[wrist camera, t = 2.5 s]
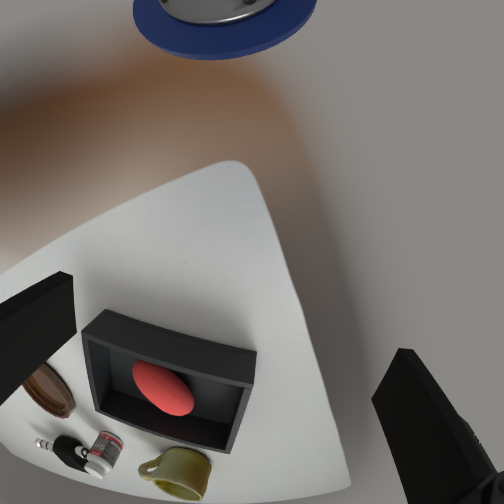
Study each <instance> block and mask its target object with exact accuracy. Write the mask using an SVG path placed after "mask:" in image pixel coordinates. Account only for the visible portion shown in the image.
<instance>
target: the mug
mask: <svg viewBox="0 0 504 504" xmlns="http://www.w3.org/2000/svg"><path fill="white" fill-rule="evenodd" d="M156 466H158V467H157V468H156V469H155V470H153V471H151V472H148V471H146V470H147V469H149V468H153V467H156ZM138 472H139V475H140V477H141V478H143V479H144V480H148V481H151V480H152V481H153V483H154V484H155V486H156V487H158V488H159V489H160V490H161V491H163V492H165V493H167V494H169V495H171V496H173V497H176V498H179V499H182V500H185V501H195V502H196V501H201V500H202V499H203V496H204V494H205V492H206V488H207V484H208V478H209V475H210V472H211V464H210V462H209V461H208V460H207V459H206V458H204V457H203V456H202V455H201V454H199V453H198V452H196V451H194V450H189V449H183V448H177V447H176V448H172V449H169V450H168V451H167V452H165V453H164V454H162V455H160V456H159V457H158V458H156V459H155V460H151V461H148V462H146V463H143V464H142V465H140V466H139V468H138Z"/></svg>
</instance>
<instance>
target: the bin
mask: <svg viewBox="0 0 504 504" xmlns="http://www.w3.org/2000/svg"><path fill="white" fill-rule="evenodd" d="M81 334H82V343H83V350H84V357H85V363H86V369H87V374H88V380H89V385H90V389H91V394H92V398H93V403H94V407H95V411H97V412H99V413H101V414H103V415H105V416H108V417H110V418H112V419H115V420H117V421H119V422H122V423H124V424H127V425H130V426H132V427H135V428H137V429H140V430H143V431H146V432H149V433H151V434H154V435H157V436H160V437H164V438H167V439H170V440H173V441H177V442H180V443H184V444H187V445H191V446H195V447H199V448H203V449H207V450H212V451H216V452H221V453H226V454H230V452H231V450H232V447H233V444H234V441H235V438H236V436H237V433H238V430H239V427H240V424H241V421H242V418H243V415H244V412H245V409H246V406H247V403H248V400H249V397H250V394H251V391H252V388H253V385H254V377H255V366H256V356H257V352H255V351H250V350H246V349H241V348H237V347H232V346H228V345H224V344H219V343H215V342H211V341H207V340H204V339H200V338H196V337H192V336H188V335H185V334H181V333H178V332H174V331H171V330H167V329H164V328H161V327H157V326H154V325H151V324H148V323H144V322H141V321H138V320H135V319H132V318H129V317H126V316H123V315H120V314H117V313H115V312H112V311H109V310H106V309H105V310H104V311H102V312H101V313H100V314H99V315H98V316H97V317H96V318H95V319H94V320H93V321H92V322H90V323H89V324H88V325H87V326H86V327H85V328H84V329H83V330H82V331H81ZM140 359H141V360H144V361H147V362H150V363H153V364H156V365H159V366H162V367H165V368H168V369H170V370H171V371H172V372H173V373H174V374H175V375H176V376H178V377H179V378H180V379H181V380H182V381H183V382H184V383H185V384H186V385H187V386H188V388H189V389H190V391H191V393H192V395H193V397H194V407H193V409H192V410H191V412H190V413H188V414H186V415H183V416H176V415H171V414H169V413H166V412H164V411H162V410H161V409H160V408H158V407H157V406H156V405H154V404H153V403H152V402H151V401H150V400H149V399H148V398H147V397H146V396H145V395H144V394H143V393H142V392H141V391H140V389H139V388H138V386H137V384H136V383H135V380H134V377H133V371H132V369H133V366H134V364H135V363H136V362H137V361H138V360H140Z"/></svg>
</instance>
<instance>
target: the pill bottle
mask: <svg viewBox="0 0 504 504" xmlns="http://www.w3.org/2000/svg"><path fill="white" fill-rule="evenodd" d="M122 449H123V443H122V442H121V440H120V439H118V438H117V437H116V436H114V435H112V434H110V433H108V432H101V433H100V434H99V436H98V438H97V439H96V441H95V443H94V444H93V446H92V448H91V449H90V451H89V453H88V454H87V460H88V461H89V462H87V463H86V465H85V467H84V468H85V470H86V471H87V472H88V473H90V474H91V475H93V476H94V477H96V478H99V479H103V478H104V476H105V475H106V473H105V472H110V471H111V470H112V469H113V467H114V465H115V463H116V461H117V459H118V457H119V455H120V453H121V451H122Z"/></svg>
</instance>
